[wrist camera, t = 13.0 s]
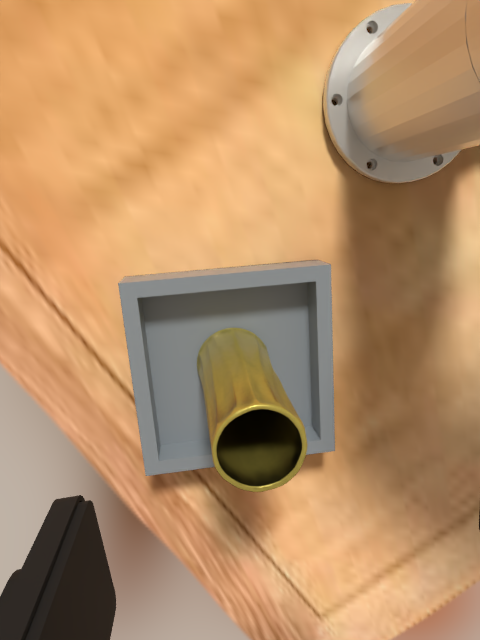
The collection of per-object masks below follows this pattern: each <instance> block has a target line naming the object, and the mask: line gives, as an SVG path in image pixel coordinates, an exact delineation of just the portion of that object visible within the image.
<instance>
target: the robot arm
mask: <svg viewBox="0 0 480 640" xmlns="http://www.w3.org/2000/svg"><path fill="white" fill-rule="evenodd" d="M367 29H369V30H370V34H369V33H368V31H367ZM331 100H335V101H336V105H335V106H334V105H333V104H332V102H331ZM323 110H324V116H325V123H326V126H327V129H328V132H329V135H330V138H331V140H332V142H333V144H334V146H335V148H336V149H337V151H338V153H339V154H340V155H341V156H342V158H343V159H344V160H345V161H346V162H347V163H348V165H350V166H351V167H352V168H354V169H355V170H356V171H357V172H359V173H360V174H362V175H364V176H366V177H368V178H370V179H372V180H376V181H380V182H384V183H405V182H412V181H416V180H419V179H423V178H426V177H428V176H430V175H432V174H434V173H436V172H438V171H439V170H441V169H442V168H443V167H445V166H446V165H447V164H449V163H450V162H451V161H452V160H453V159H454V158H455V157H456V156H457V155H458V154H459V152H460V151H461V150H462V149H466V148H470V147H475V146H479V145H480V0H416V1H415V2H414V3H404V4H397V5H391V6H389V7H386V8H383V9H381V10H378V11H376V12H375V13H373V14H371V15H370V16H368V17H367V18H365V19H364V20H362V21H361V22H360V23H359V24H358V25H357V26H356V27H355V28H354V29H353V30H352V31H351V32H350V33H349V34H348V36H347V37H346V38H345V39H344V40H343V42H342V43H341V45H340V46H339V48H338V50H337V51H336V53H335V55H334V56H333V58H332V61H331V64H330V67H329V69H328V72H327V75H326V81H325V86H324V94H323ZM433 159H434V163H433ZM367 162H368V163H369V164H370V168H369V169H368V168H367ZM479 530H480V513H479ZM115 610H116V595H115V590H114V586H113V582H112V578H111V574H110V570H109V566H108V562H107V558H106V554H105V550H104V546H103V542H102V538H101V534H100V530H99V526H98V522H97V518H96V513H95V510H94V506H93V503H92V501H85V500H84V498H83V496H81V495H79V496H74V497H67V498H61V499H56V500H55V501H54V502H53V504H52V506H51V508H50V510H49V512H48V514H47V516H46V518H45V520H44V523H43V525H42V527H41V529H40V531H39V533H38V535H37V537H36V540H35V541H34V544H33V546H32V548H31V550H30V552H29V554H28V556H27V558H26V560H25V563H24V565H23V567H22V569H19V570H16V571H15V572H14V573H13V574H12V576H11V577H10V578H9V580H8V582H7V584H6V586H5V588H4V590H3V592H2V594H1V596H0V640H110V636H111V631H112V626H113V621H114V616H115Z"/></svg>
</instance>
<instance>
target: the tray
mask: <svg viewBox="0 0 480 640" xmlns="http://www.w3.org/2000/svg"><path fill="white" fill-rule="evenodd" d="M118 285H119V292H120V299H121V306H122V313H123V320H124V327H125V334H126V341H127V348H128V355H129V362H130V369H131V376H132V383H133V390H134V397H135V404H136V411H137V418H138V425H139V432H140V439H141V446H142V453H143V460H144V467H145V474H146V476H150V475H157V474H165V473H172V472H180V471H187V470H195V469H202V468H210V467H215V466H214V463H213V458H212V450H211V443H210V436H209V428H208V421H207V413H206V406H205V399H204V392H203V388H202V383H201V379H200V376H199V374H198V370H197V357H198V353H199V350H200V348H201V346H202V345H203V343H204V342H205V341H206V339H207V338H208V337H210V336H211V335H212V334H214V333H216V332H218V331H220V330H223V329H226V328H242V329H245V330H248V331H250V332H252V333H254V334H255V335H256V336H258V337H259V338H260V339H261V340H262V342H263V343H264V344H265V346H266V348H267V351H268V355H269V358H270V362H271V365H272V367H273V370H274V371H275V373H276V374H277V376H278V378H279V380H280V381H281V383H282V386H283V388H284V390H285V392H286V394H287V396H288V398H289V400H290V401H291V403H292V405H293V407H294V409H295V411H296V413H297V414H298V416H299V418H300V419H301V421H302V423H303V425H304V427H305V433H306V438H307V452H306V455H308V454H316V453H323V452H331V451H335V434H334V387H333V341H332V294H331V264H328V263H325V262H323V261H320V260H309V261H297V262H286V263H275V264H263V265H252V266H241V267H229V268H218V269H206V270H195V271H184V272H172V273H161V274H150V275H138V276H127V277H124V278H123V279H122V280H121V281H120V282H119V283H118Z"/></svg>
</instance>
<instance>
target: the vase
mask: <svg viewBox="0 0 480 640" xmlns="http://www.w3.org/2000/svg"><path fill="white" fill-rule="evenodd" d="M197 370H198V374H199V376H200V379H201V383H202V388H203V392H204V399H205V406H206V413H207V421H208V428H209V436H210V443H211V450H212V458H213V463H214V466H215V468H216V470H217V471H218V473H219V474H220V475H221V477H222V478H223V479H224V480H226V481H227V482H229V483H230V484H232V485H233V486H235V487H237V488H239V489H242V490H246V491H251V492H263V491H267V490H271V489H275V488H277V487H280V486H282V485H284V484H285V483H287V482H288V481H289V480H291V479H292V478H293V477H294V476H295V475H296V474H297V472H298V471H299V470H300V468H301V466H302V464H303V461H304V459H305V456H306V452H307V438H306V433H305V427H304V425H303V423H302V421H301V419H300V418H299V416H298V414H297V413H296V411H295V409H294V407H293V405H292V403H291V401H290V400H289V398H288V396H287V394H286V392H285V390H284V388H283V386H282V383H281V381H280V380H279V378H278V376H277V374H276V373H275V371H274V370H273V367H272V365H271V362H270V358H269V355H268V351H267V348H266V346H265V344H264V343H263V342H262V340H261V339H260V338H259V337H258V336H256V335H255V334H254V333H252V332H250V331H248V330H245V329H242V328H226V329H223V330H220V331H218V332H216V333H214V334H212V335H211V336H210V337H208V338H207V339H206V341H205V342H204V343H203V345H202V346H201V348H200V350H199V353H198V357H197Z"/></svg>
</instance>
